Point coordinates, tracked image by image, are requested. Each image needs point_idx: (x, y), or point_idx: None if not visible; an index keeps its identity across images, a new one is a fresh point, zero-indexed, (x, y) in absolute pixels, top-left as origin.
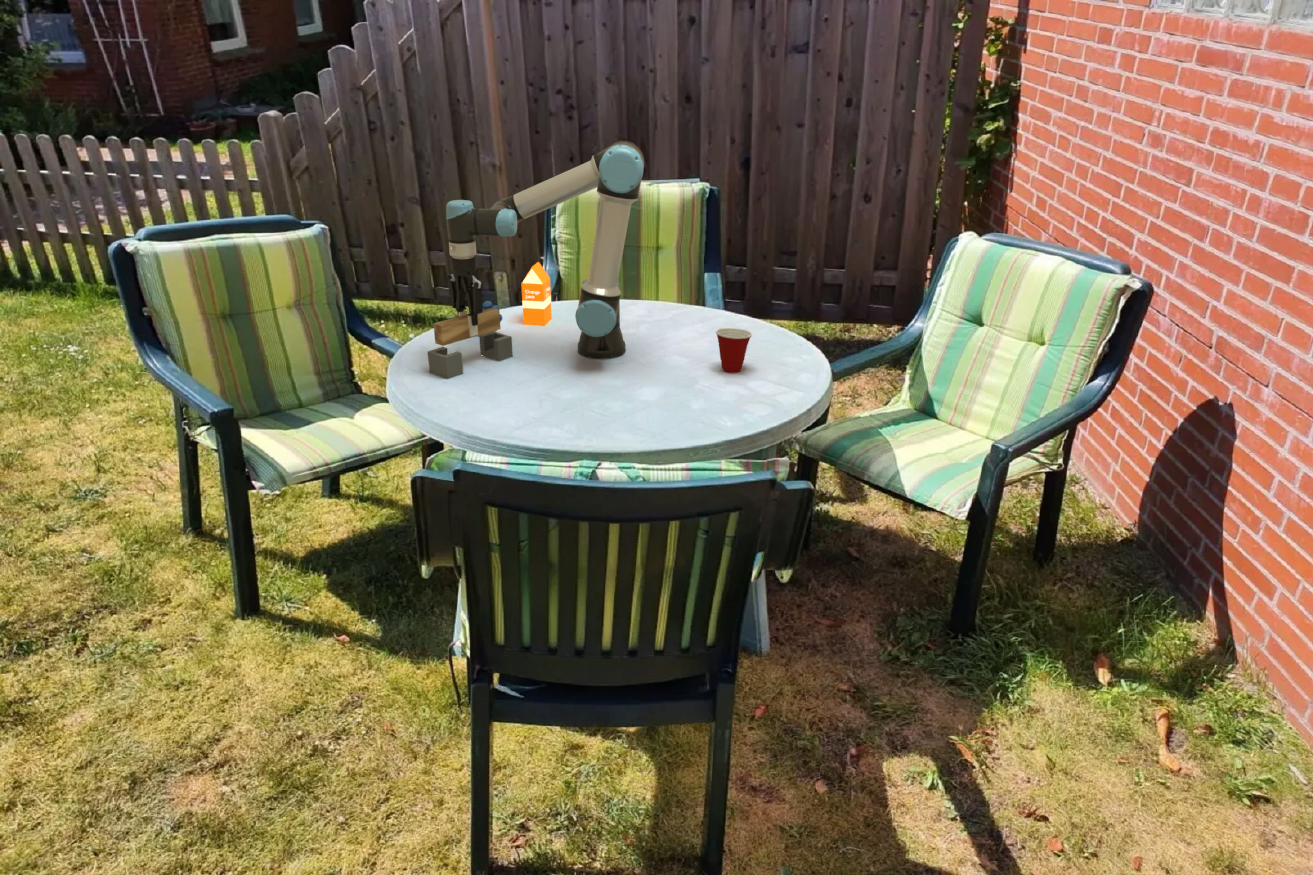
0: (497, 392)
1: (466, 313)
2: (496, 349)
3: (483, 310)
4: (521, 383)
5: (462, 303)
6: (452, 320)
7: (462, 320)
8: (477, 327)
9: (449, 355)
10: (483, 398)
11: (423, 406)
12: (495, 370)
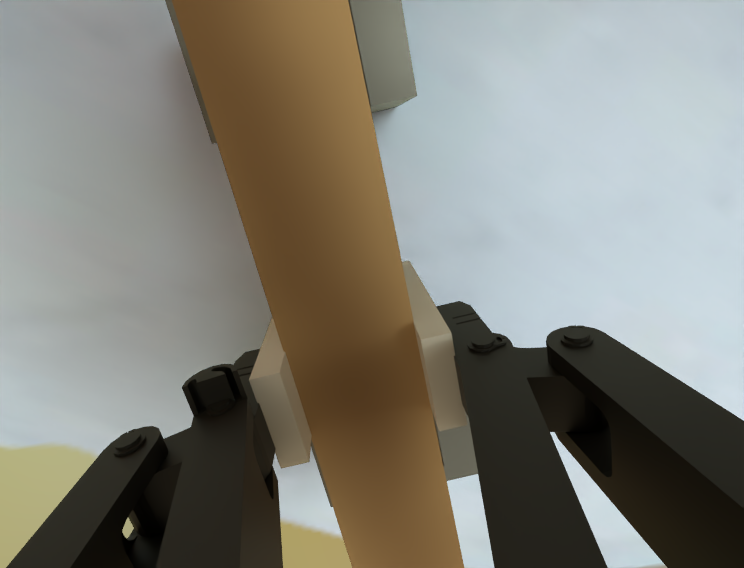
0: (718, 315)
1: (287, 369)
2: (388, 105)
3: (225, 111)
4: (725, 181)
5: (260, 494)
6: (397, 534)
7: (441, 462)
8: (419, 279)
9: (462, 449)
10: (720, 382)
11: (617, 548)
12: (500, 194)
